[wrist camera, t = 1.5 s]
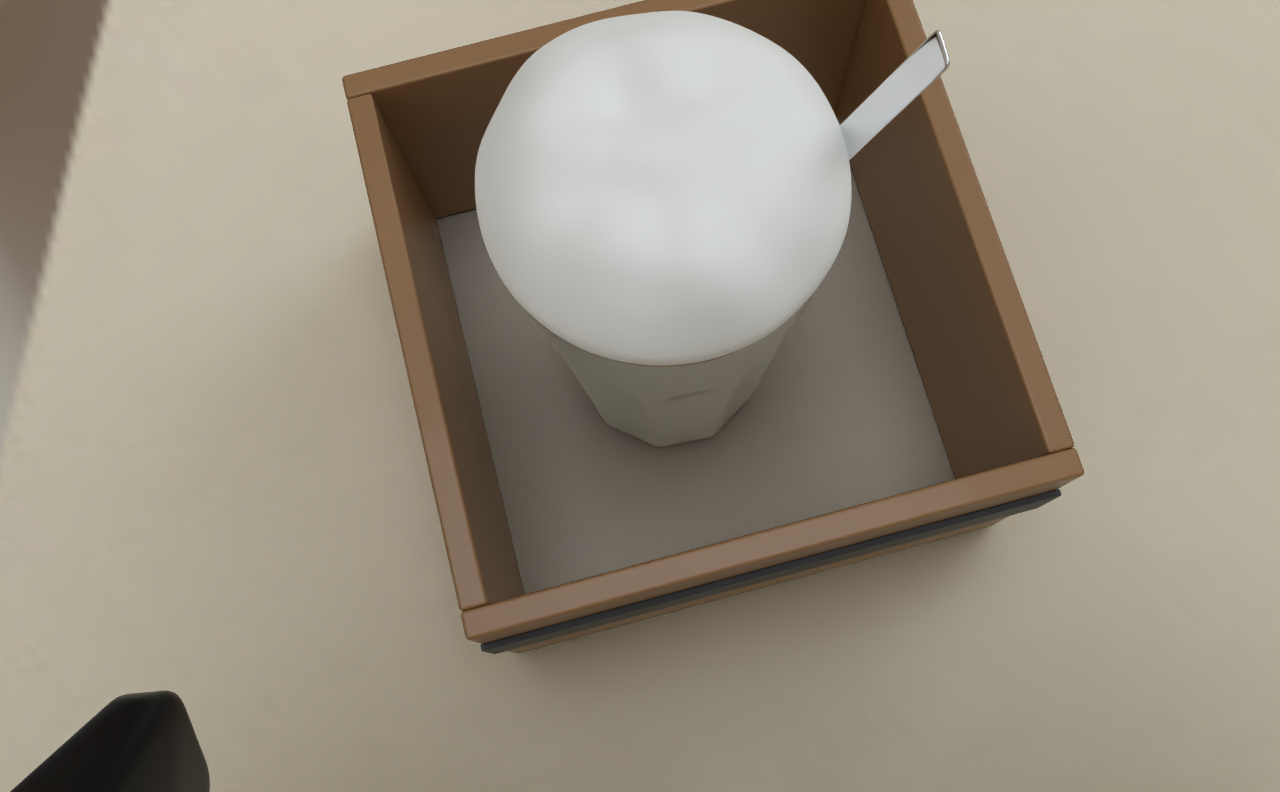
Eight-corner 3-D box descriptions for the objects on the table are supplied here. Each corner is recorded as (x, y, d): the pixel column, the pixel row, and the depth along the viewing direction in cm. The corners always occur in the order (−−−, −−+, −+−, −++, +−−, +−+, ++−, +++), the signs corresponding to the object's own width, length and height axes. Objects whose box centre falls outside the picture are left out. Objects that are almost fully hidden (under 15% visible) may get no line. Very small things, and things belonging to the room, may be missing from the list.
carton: (995, 530, 21) (1088, 480, 16) (516, 659, 21) (467, 647, 16) (847, 94, 23) (891, -64, 19) (411, 206, 23) (341, 74, 18)
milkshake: (860, 448, 22) (1004, 246, 12) (570, 505, 22) (479, 347, 12) (804, 219, 23) (894, -135, 13) (528, 273, 23) (415, -44, 13)
